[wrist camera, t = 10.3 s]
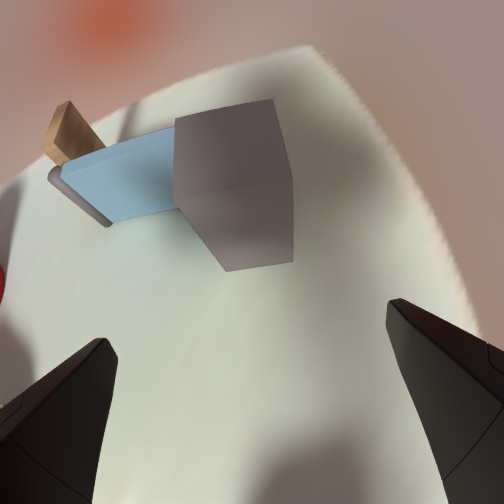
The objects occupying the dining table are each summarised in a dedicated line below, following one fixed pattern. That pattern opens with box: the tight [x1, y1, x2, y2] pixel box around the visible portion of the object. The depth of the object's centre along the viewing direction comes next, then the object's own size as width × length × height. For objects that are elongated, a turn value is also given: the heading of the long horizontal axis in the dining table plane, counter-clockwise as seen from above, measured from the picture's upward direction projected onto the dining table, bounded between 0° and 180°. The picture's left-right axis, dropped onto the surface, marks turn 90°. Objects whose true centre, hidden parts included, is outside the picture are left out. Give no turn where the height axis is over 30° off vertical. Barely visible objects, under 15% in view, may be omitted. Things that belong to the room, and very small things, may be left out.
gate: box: [47, 127, 178, 227], centre depth 21 cm, size 15×1×8 cm, turn 97°
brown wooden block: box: [41, 101, 106, 167], centre depth 22 cm, size 5×1×10 cm, turn 7°
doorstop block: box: [173, 99, 293, 272], centre depth 18 cm, size 5×5×11 cm
